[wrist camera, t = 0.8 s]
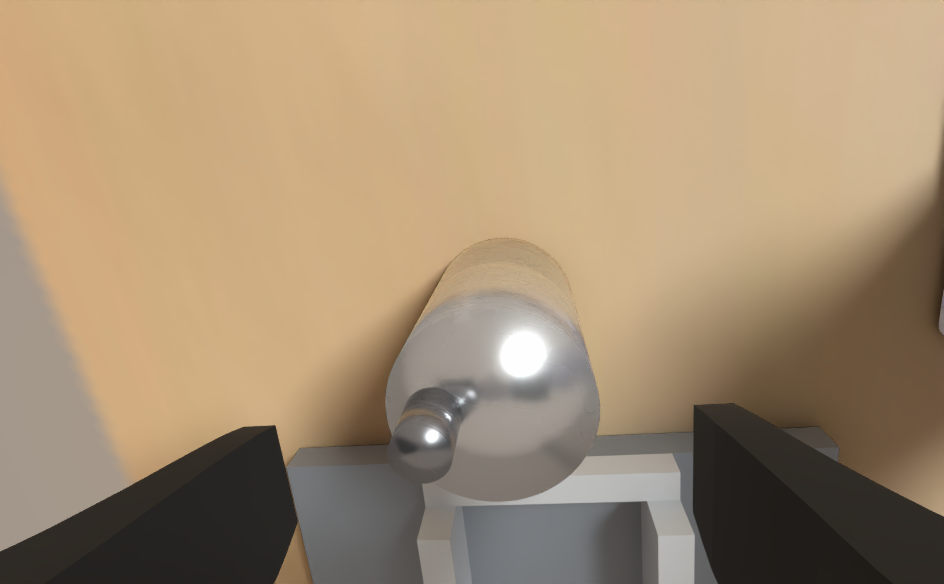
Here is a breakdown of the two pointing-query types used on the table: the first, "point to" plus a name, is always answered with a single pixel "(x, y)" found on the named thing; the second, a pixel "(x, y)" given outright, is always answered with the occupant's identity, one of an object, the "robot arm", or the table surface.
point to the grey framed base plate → (510, 519)
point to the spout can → (494, 379)
